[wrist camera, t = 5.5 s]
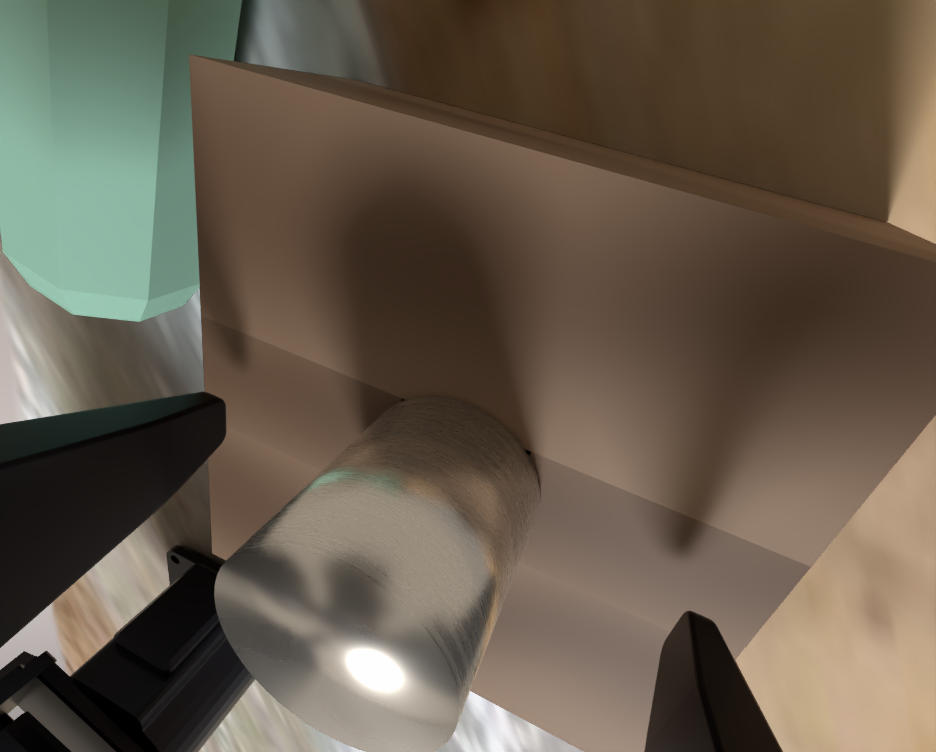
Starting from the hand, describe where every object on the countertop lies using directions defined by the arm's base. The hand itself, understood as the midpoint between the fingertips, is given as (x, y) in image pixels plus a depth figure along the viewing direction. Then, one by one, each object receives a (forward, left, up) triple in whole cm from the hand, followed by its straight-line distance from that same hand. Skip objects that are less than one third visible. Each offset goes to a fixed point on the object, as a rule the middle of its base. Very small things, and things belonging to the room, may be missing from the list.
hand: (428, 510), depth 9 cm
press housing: (0, 0, -6) cm, 6 cm away
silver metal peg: (0, 0, -5) cm, 5 cm away
